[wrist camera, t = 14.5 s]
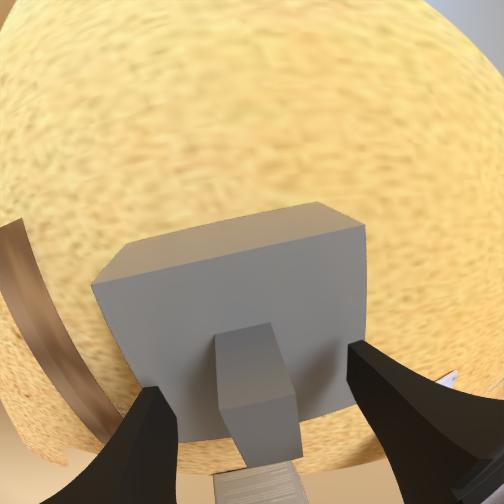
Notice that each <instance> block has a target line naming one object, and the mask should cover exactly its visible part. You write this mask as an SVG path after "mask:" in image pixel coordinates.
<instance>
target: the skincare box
mask: <svg viewBox="0 0 504 504" xmlns="http://www.w3.org/2000/svg"><path fill="white" fill-rule="evenodd" d="M213 483H214V494H215V503H216V504H309V503H308V500H307V497H306V494H305V491H304V488H303V485H302V482H301V479H300V476H299V474H298V472H297V471H296V469H295V467H294V465H293V463H292V461H291V460H290V461H285V462H281V463H277V464H272V465H267V466H262V467H257V468H251V469H248V468H246V469H242V470H237V471H232V472H227V473H222V474H216V475H213Z"/></svg>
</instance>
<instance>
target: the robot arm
mask: <svg viewBox="0 0 504 504" xmlns="http://www.w3.org/2000/svg"><path fill="white" fill-rule="evenodd" d="M457 375H458V371H457V370H455V371H453V372H451V373H450V374H448V375H446V376H445V377H443V378H441V379H439V380H438V381H436V382H434V381H432V380H429V379H427V378H425V377H423V376H421V375H419V374H417V373H415V372H414V371H412V370H410V369H408V368H407V367H405V366H403V365H401V364H400V363H398V362H396V361H395V360H393V359H392V358H390V357H388V356H387V355H385V354H384V353H382V352H381V351H379V350H378V349H376V348H375V347H373V346H371V345H370V344H368V343H367V342H365V341H364V340H359V341H356V342H353V343H350V344H348V351H347V376H346V381H347V383H348V385H349V388H350V390H351V392H352V395H353V397H354V399H355V401H356V403H357V405H358V406H359V408H360V410H361V411H362V413H363V415H364V416H365V418H366V420H367V421H368V423H369V425H370V426H371V428H372V430H373V431H374V433H375V434H376V436H377V438H378V439H379V441H380V443H381V445H382V447H383V449H384V451H385V453H386V456H387V458H388V460H389V462H390V465H391V467H392V470H393V472H394V475H395V477H396V480H397V483H398V486H399V489H400V491H401V494H402V498H403V501H404V504H504V400H498V399H492V398H485V397H480V396H476V395H472V394H468V393H464V392H461V391H458V390H454V389H452V387H453V385H454V382H455V380H456V377H457ZM177 453H178V425H177V417H176V415H175V413H174V412H173V410H172V409H171V407H170V405H169V404H168V402H167V400H166V399H165V397H164V395H163V394H162V392H161V390H160V388H159V387H158V386H151V387H144V388H143V389H142V391H141V392H140V394H139V395H138V397H137V398H136V400H135V402H134V403H133V405H132V406H131V408H130V410H129V411H128V413H127V414H126V416H125V418H124V419H123V421H122V422H121V424H120V425H119V427H118V428H117V430H116V431H115V433H114V434H113V436H112V437H111V438H110V440H109V441H108V442H107V444H106V445H105V447H104V448H103V449H102V450H101V452H100V453H99V454H98V455H97V457H96V458H95V459H94V460H93V461H92V462H91V463H90V464H89V465H88V467H87V468H86V469H85V470H84V471H82V472H81V473H80V474H79V475H78V476H77V477H76V478H75V479H74V480H73V481H72V482H70V483H69V484H68V485H67V486H65V487H64V488H63V489H62V490H60V491H59V492H57V493H56V494H55V495H53V496H52V497H50V498H48V499H47V500H45V501H43V502H41V503H40V504H177V503H176V469H177Z"/></svg>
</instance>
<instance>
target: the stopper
mask: <svg viewBox="0 0 504 504" xmlns="http://www.w3.org/2000/svg"><path fill="white" fill-rule="evenodd" d="M0 291H1V293H2V296H3V298H4V300H5V302H6V304H7V307H8V309H9V311H10V313H11V315H12V317H13V319H14V321H15V323H16V325H17V327H18V329H19V330H20V332H21V334H22V336H23V338H24V340H25V341H26V343H27V345H28V347H29V348H30V350H31V352H32V353H33V355H34V356H35V358H36V360H37V361H38V363H39V364H40V366H41V368H42V369H43V371H44V372H45V374H46V375H47V376H48V378H49V379H50V381H51V382H52V384H53V385H54V386H55V388H56V389H57V391H58V392H59V393H60V395H61V396H62V397H63V399H64V400H65V401H66V402H67V404H68V405H69V406H70V407H71V409H72V410H73V411H74V412H75V414H76V415H77V416H78V417H79V418H80V420H81V421H82V422H83V423H84V424H85V425H86V426H87V428H88V429H89V430H90V431H91V432H92V433H93V434H94V435H95V436H96V437H97V438H98V439H99V440H100V442H101V443H107V442H108V441H109V440H110V438H111V437H112V436H113V434H114V433H115V431H116V430H117V428H118V427H119V425H120V424H121V422H122V421H123V418H122V416H121V415H120V414H119V413H118V411H117V410H116V409H115V407H114V406H113V405H112V403H111V402H110V400H109V399H108V398H107V396H106V395H105V393H104V392H103V391H102V389H101V388H100V386H99V385H98V383H97V382H96V380H95V379H94V377H93V376H92V374H91V372H90V371H89V369H88V368H87V366H86V364H85V363H84V361H83V359H82V358H81V356H80V354H79V353H78V351H77V349H76V347H75V346H74V344H73V342H72V340H71V338H70V337H69V335H68V333H67V331H66V329H65V327H64V325H63V323H62V321H61V319H60V317H59V315H58V313H57V311H56V309H55V307H54V305H53V302H52V300H51V298H50V296H49V293H48V291H47V289H46V286H45V284H44V282H43V279H42V277H41V274H40V271H39V269H38V266H37V264H36V261H35V258H34V255H33V252H32V249H31V246H30V243H29V240H28V237H27V234H26V231H25V227H24V224H23V220H22V218H21V219H18V220H16V221H14V222H12V223H9V224H7V225H5V226H3V227H1V228H0Z"/></svg>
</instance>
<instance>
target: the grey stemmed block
mask: <svg viewBox="0 0 504 504" xmlns="http://www.w3.org/2000/svg"><path fill="white" fill-rule="evenodd" d="M90 286H91V288H92V290H93V293H94V295H95V298H96V300H97V302H98V305H99V307H100V309H101V311H102V314H103V316H104V318H105V320H106V322H107V324H108V326H109V329H110V331H111V333H112V335H113V337H114V339H115V341H116V343H117V345H118V347H119V348H120V350H121V352H122V354H123V356H124V358H125V360H126V361H127V363H128V365H129V367H130V369H131V370H132V372H133V374H134V376H135V377H136V379H137V381H138V382H139V384H140V386H141V387H142V389H143V388H144V387H151V386H158V387H159V388H160V390H161V392H162V394H163V395H164V397H165V399H166V400H167V402H168V404H169V405H170V407H171V409H172V410H173V412H174V413H175V415H176V417H177V425H178V442H179V443H185V442H196V441H206V440H214V439H221V438H228V437H232V439H233V440H234V442H235V444H236V446H237V448H238V450H239V452H240V454H241V456H242V458H243V460H244V462H245V464H246V465H247V467H248V469H251V468H257V467H262V466H267V465H272V464H277V463H281V462H285V461H290V460H294V459H297V458H301V457H303V450H302V442H301V434H300V426H299V422H303V421H306V420H310V419H313V418H316V417H320V416H323V415H326V414H329V413H332V412H335V411H338V410H341V409H344V408H347V407H350V406H352V405H355V404H357V403H356V401H355V399H354V397H353V395H352V392H351V390H350V388H349V385H348V383H347V381H346V376H347V351H348V344H350V343H353V342H356V341H359V340H364V341H365V327H366V299H367V260H366V232H365V224H363V223H361V222H359V221H357V220H355V219H353V218H351V217H349V216H347V215H345V214H342V213H340V212H338V211H336V210H334V209H332V208H330V207H328V206H326V205H324V204H321V203H319V202H314V203H309V204H303V205H298V206H293V207H288V208H283V209H278V210H273V211H268V212H263V213H258V214H253V215H248V216H243V217H239V218H234V219H229V220H225V221H220V222H216V223H211V224H207V225H202V226H198V227H194V228H189V229H185V230H181V231H176V232H172V233H168V234H164V235H160V236H156V237H151V238H147V239H143V240H139V241H135V242H132V243H128V244H126V245H125V246H124V247H123V248H122V249H121V250H120V251H119V252H118V254H117V255H116V256H115V257H114V258H113V259H112V260H111V261H110V263H109V264H108V265H107V266H106V267H105V268H104V269H103V271H102V272H101V273H100V274H99V275H98V276H97V278H96V279H95V280H94V281H93V282H92V284H91V285H90Z"/></svg>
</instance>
